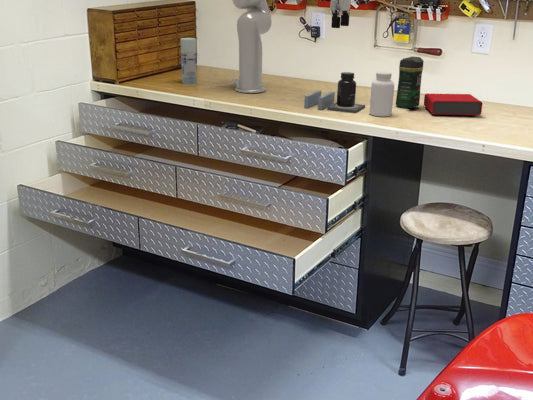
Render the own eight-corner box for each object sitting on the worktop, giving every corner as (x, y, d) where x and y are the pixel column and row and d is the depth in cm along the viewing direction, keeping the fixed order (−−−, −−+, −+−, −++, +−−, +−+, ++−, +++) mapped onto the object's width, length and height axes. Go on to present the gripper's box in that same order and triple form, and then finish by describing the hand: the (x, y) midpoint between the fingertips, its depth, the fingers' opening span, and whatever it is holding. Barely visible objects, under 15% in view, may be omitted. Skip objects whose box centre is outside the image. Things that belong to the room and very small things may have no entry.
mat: (327, 109, 234) (327, 106, 234) (337, 104, 243) (337, 101, 243) (355, 113, 230) (355, 110, 229) (365, 107, 239) (365, 104, 238)
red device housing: (470, 107, 244) (471, 94, 242) (481, 115, 231) (482, 101, 229) (423, 106, 244) (424, 93, 243) (431, 114, 231) (433, 100, 229)
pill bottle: (386, 118, 223) (390, 75, 218) (365, 115, 227) (368, 72, 222) (395, 113, 229) (398, 72, 224) (374, 111, 233) (377, 70, 228)
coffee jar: (412, 109, 236) (417, 59, 230) (392, 107, 241) (396, 57, 234) (422, 105, 244) (427, 56, 237) (402, 102, 248) (407, 54, 242)
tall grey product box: (180, 84, 278) (178, 38, 271) (194, 83, 281) (192, 37, 274) (184, 87, 273) (183, 39, 266) (199, 86, 276) (197, 39, 269)
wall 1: (304, 107, 237) (304, 95, 235) (317, 101, 248) (317, 90, 246) (307, 108, 236) (308, 96, 235) (320, 102, 247) (321, 90, 246)
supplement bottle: (354, 107, 233) (356, 75, 228) (335, 106, 234) (337, 74, 230) (355, 104, 239) (357, 72, 235) (337, 103, 240) (339, 71, 236)
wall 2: (317, 109, 235) (318, 97, 233) (330, 103, 246) (331, 91, 244) (321, 109, 234) (322, 97, 232) (334, 103, 245) (334, 92, 243)
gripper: (341, -22, 242) (338, 24, 248) (324, -22, 227) (322, 28, 233) (359, -22, 239) (357, 25, 245) (344, -21, 224) (341, 29, 230)
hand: (340, 26), depth 239 cm, fingers open, 9 cm apart
